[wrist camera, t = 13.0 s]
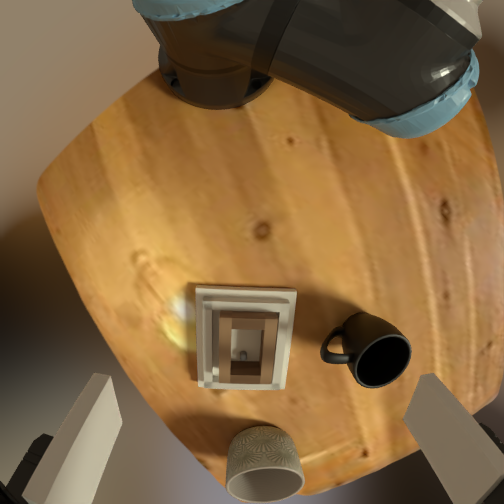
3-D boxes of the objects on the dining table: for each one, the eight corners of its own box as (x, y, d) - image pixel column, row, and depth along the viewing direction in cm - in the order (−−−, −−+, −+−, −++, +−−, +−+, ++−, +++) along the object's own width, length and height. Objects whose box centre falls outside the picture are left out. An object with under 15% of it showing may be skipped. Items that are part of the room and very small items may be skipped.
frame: (220, 305, 39) (219, 317, 36) (274, 307, 40) (277, 319, 36) (220, 368, 41) (218, 383, 38) (268, 369, 42) (271, 384, 38)
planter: (244, 465, 49) (246, 508, 38) (213, 430, 46) (210, 478, 35) (304, 447, 48) (314, 490, 38) (280, 409, 45) (289, 457, 35)
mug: (316, 296, 41) (337, 328, 32) (389, 307, 42) (421, 335, 33) (301, 347, 43) (316, 387, 33) (372, 353, 44) (397, 388, 34)
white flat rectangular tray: (196, 284, 40) (194, 292, 37) (295, 288, 40) (299, 296, 38) (198, 382, 43) (197, 392, 41) (283, 384, 44) (285, 394, 41)
